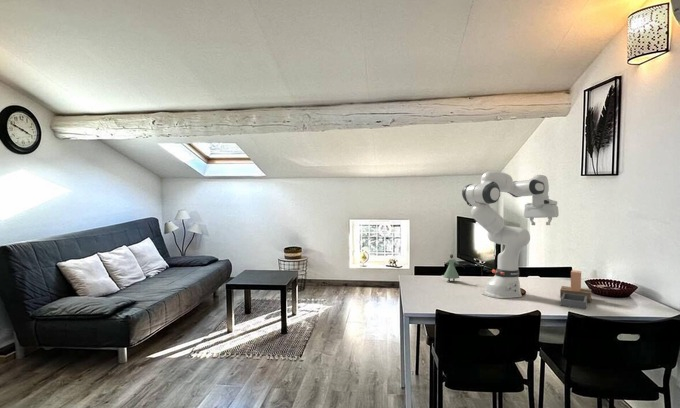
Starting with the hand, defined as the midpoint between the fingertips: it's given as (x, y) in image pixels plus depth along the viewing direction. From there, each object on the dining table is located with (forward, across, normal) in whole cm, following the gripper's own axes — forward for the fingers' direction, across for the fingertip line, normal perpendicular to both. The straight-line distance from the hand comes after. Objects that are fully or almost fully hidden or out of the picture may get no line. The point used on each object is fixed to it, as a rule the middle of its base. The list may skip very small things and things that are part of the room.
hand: (540, 225), depth 231 cm
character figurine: (+38, -44, -26) cm, 64 cm away
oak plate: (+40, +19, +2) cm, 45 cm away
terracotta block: (+35, +19, +2) cm, 40 cm away
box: (+42, +24, -9) cm, 49 cm away
